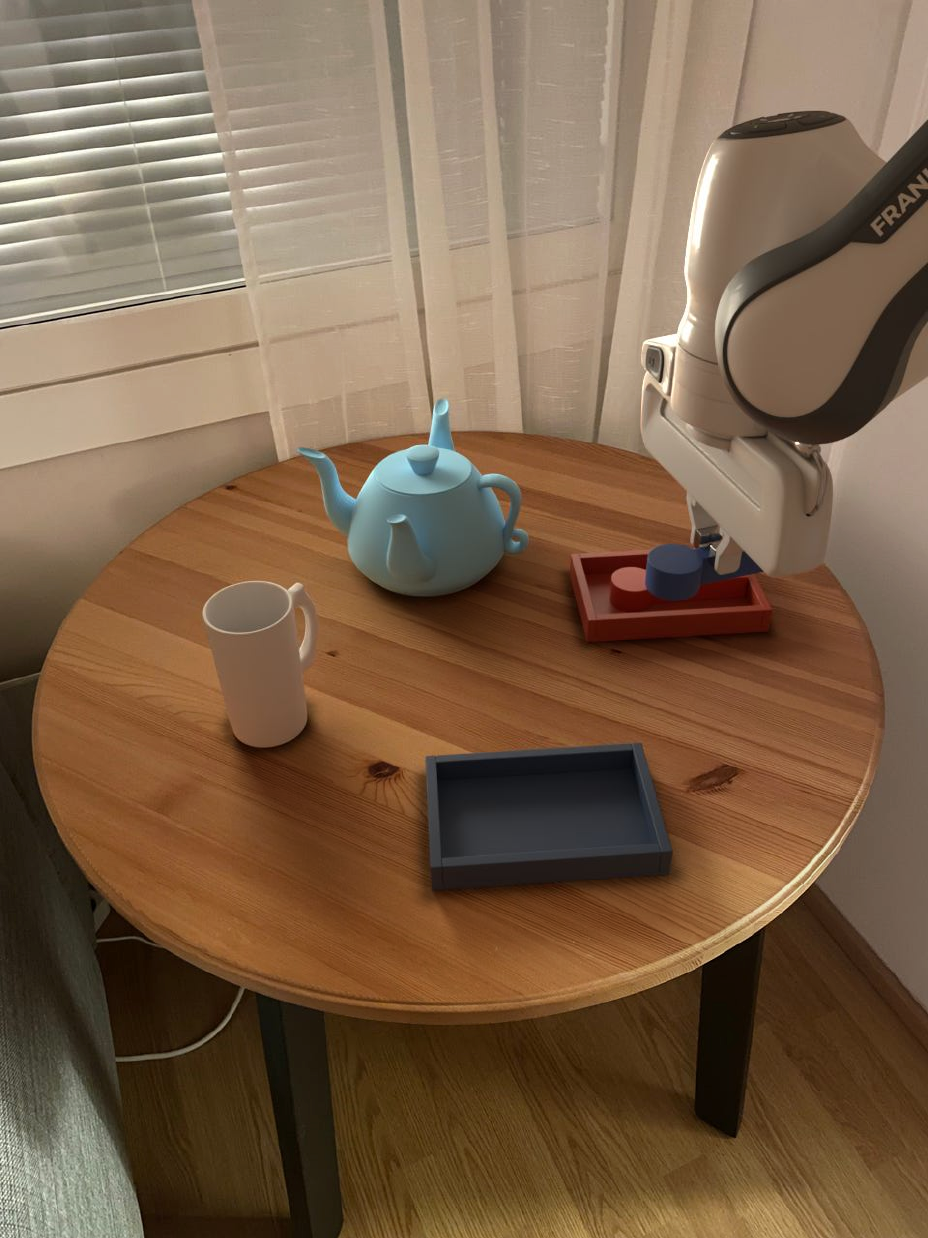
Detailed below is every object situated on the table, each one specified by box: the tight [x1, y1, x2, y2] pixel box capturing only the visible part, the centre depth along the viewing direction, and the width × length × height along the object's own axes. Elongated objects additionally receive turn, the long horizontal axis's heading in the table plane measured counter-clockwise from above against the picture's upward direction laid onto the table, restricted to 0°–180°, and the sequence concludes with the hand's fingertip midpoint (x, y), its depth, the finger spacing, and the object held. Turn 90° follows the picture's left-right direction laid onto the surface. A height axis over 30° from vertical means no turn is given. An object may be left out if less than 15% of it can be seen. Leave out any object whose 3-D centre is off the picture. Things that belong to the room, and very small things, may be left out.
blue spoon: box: [645, 543, 765, 601], centre depth 75 cm, size 13×4×2 cm, turn 107°
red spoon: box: [609, 567, 749, 612], centre depth 94 cm, size 13×4×2 cm, turn 93°
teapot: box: [296, 398, 530, 598], centre depth 98 cm, size 17×19×12 cm
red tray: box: [569, 546, 773, 643], centre depth 94 cm, size 17×11×2 cm, turn 94°
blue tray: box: [424, 742, 673, 892], centre depth 73 cm, size 17×11×2 cm, turn 94°
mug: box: [201, 580, 319, 748], centre depth 81 cm, size 10×7×12 cm, turn 143°
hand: (713, 558), depth 74 cm, fingers closed on blue spoon, 1 cm apart
